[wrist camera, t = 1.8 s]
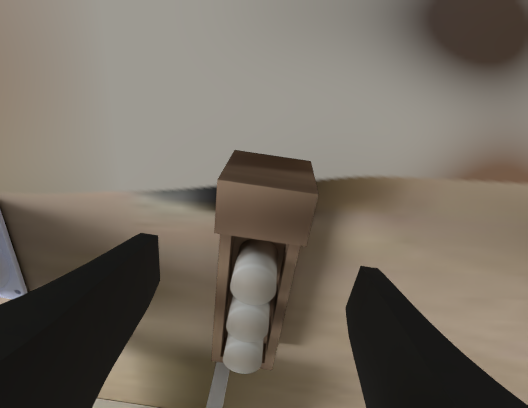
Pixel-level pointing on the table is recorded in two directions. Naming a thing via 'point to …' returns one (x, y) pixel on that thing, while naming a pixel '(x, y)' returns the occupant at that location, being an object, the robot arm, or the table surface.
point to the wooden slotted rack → (258, 253)
